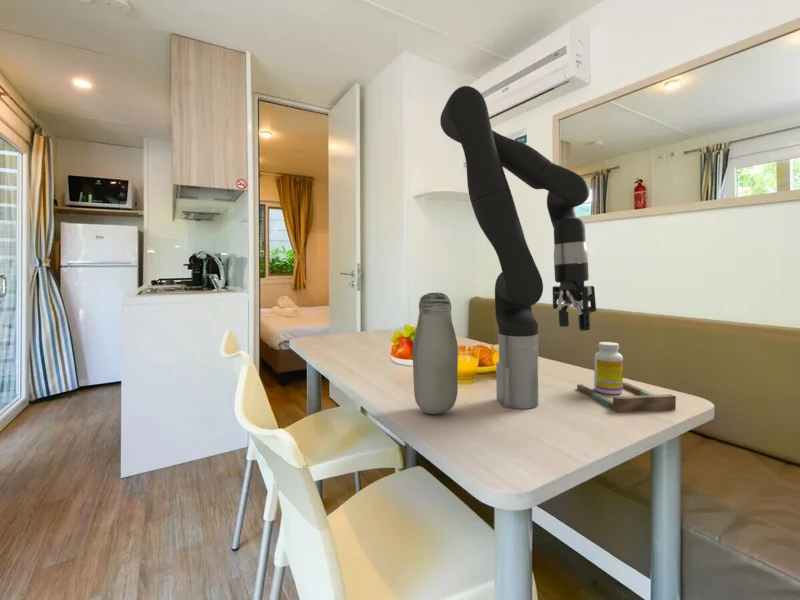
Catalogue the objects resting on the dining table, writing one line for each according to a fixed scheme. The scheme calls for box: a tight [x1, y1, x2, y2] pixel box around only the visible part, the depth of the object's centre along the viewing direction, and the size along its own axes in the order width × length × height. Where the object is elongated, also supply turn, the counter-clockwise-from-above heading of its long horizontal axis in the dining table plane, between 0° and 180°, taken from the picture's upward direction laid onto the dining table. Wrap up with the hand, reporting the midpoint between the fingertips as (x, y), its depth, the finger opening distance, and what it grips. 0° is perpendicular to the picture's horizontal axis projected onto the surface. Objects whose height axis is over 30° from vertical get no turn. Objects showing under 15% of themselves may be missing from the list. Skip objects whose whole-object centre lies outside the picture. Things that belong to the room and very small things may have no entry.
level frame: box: [576, 382, 677, 413], centre depth 95 cm, size 14×18×3 cm
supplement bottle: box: [593, 341, 624, 395], centre depth 100 cm, size 7×7×13 cm
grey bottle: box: [412, 292, 459, 415], centre depth 88 cm, size 10×10×28 cm
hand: (573, 328), depth 93 cm, fingers open, 8 cm apart
